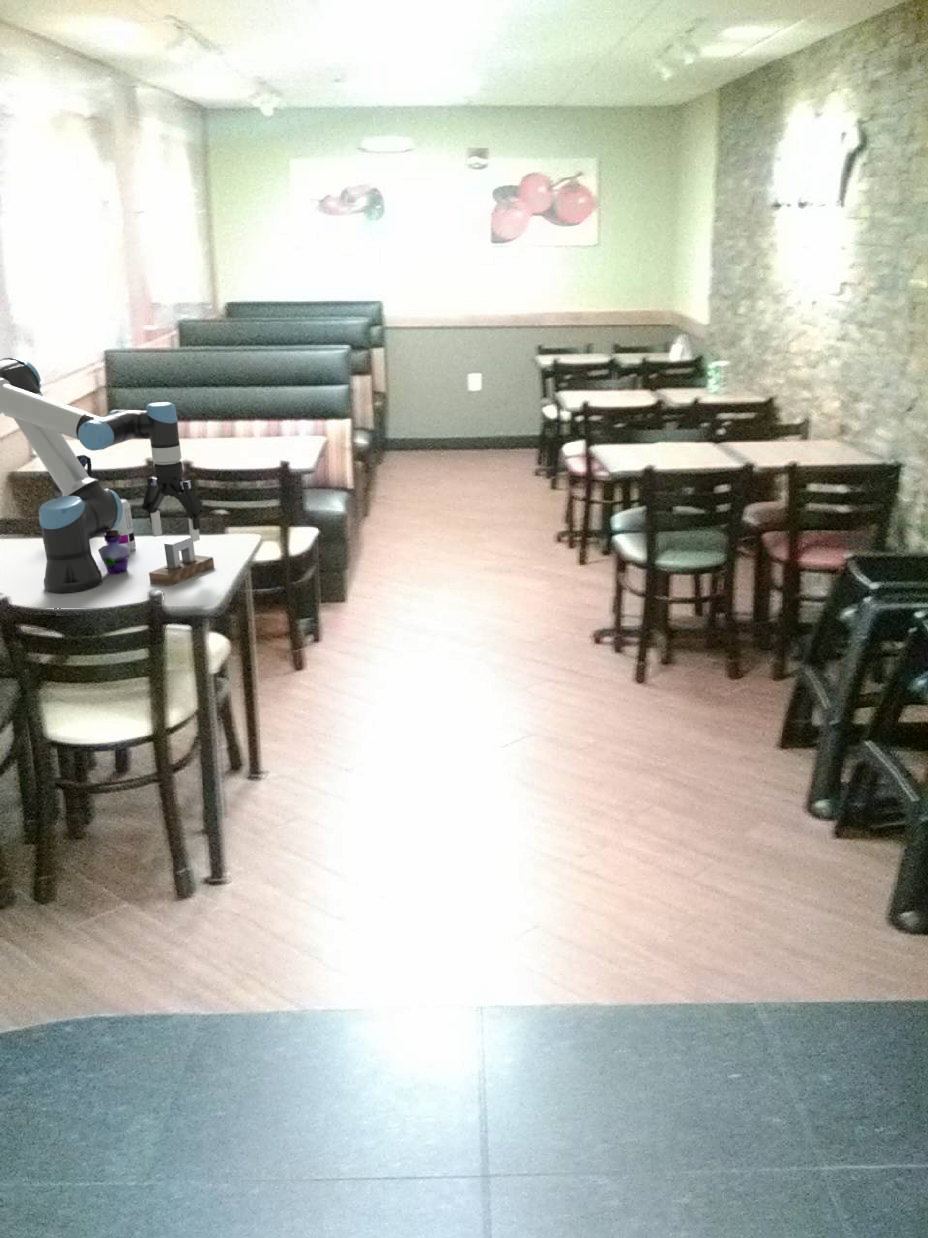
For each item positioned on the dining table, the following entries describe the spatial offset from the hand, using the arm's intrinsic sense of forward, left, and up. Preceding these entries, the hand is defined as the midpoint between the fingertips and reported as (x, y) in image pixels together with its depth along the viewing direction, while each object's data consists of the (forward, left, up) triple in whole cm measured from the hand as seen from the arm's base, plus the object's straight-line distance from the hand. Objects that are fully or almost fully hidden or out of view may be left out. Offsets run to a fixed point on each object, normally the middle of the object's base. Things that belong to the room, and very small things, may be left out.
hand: (176, 538), depth 314 cm
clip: (0, 0, -10) cm, 10 cm away
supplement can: (+13, +35, -11) cm, 39 cm away
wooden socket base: (0, -1, -10) cm, 11 cm away
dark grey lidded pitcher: (+24, +64, -11) cm, 70 cm away
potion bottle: (-4, +20, -11) cm, 23 cm away
